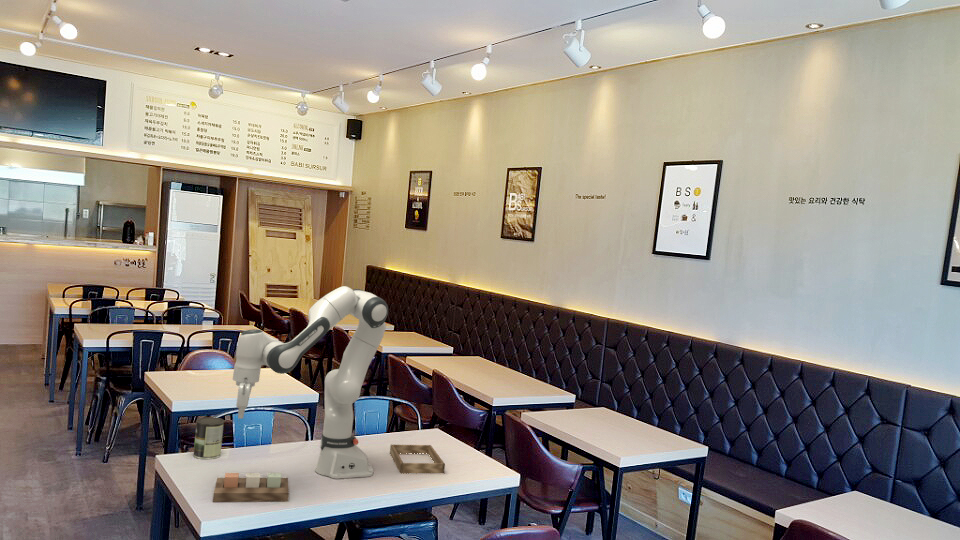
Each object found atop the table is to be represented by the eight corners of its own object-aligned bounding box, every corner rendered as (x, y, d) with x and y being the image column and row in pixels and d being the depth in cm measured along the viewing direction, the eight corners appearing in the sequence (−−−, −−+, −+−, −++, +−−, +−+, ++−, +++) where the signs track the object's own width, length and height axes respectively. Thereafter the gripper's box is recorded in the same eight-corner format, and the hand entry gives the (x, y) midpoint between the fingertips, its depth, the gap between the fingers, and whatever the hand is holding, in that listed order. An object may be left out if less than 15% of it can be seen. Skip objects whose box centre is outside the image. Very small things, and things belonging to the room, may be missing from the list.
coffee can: (189, 458, 265) (192, 422, 265) (198, 450, 275) (201, 416, 275) (216, 460, 266) (219, 424, 265) (224, 452, 276) (227, 418, 276)
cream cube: (259, 483, 238) (260, 473, 238) (258, 487, 234) (259, 477, 234) (245, 483, 237) (246, 472, 237) (245, 487, 233) (246, 477, 233)
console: (287, 485, 246) (287, 477, 246) (288, 501, 232) (288, 492, 232) (216, 486, 239) (217, 477, 239) (212, 502, 225) (213, 493, 225)
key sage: (279, 483, 240) (280, 473, 240) (280, 487, 236) (281, 477, 236) (266, 483, 239) (267, 473, 239) (266, 487, 235) (267, 477, 235)
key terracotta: (238, 483, 236) (239, 472, 236) (237, 487, 232) (238, 477, 232) (224, 483, 235) (225, 472, 235) (223, 487, 231) (224, 477, 231)
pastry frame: (429, 454, 302) (430, 445, 302) (443, 473, 277) (444, 464, 277) (389, 453, 297) (390, 444, 297) (400, 473, 272) (401, 463, 272)
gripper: (254, 382, 230) (249, 422, 230) (256, 371, 249) (251, 408, 250) (235, 380, 228) (229, 421, 228) (238, 369, 248) (233, 407, 248)
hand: (241, 414), depth 239 cm, fingers open, 8 cm apart
